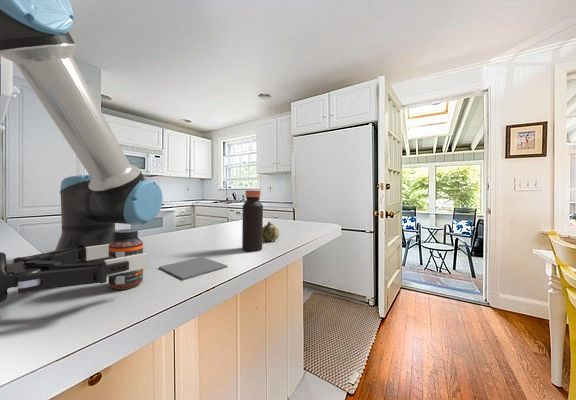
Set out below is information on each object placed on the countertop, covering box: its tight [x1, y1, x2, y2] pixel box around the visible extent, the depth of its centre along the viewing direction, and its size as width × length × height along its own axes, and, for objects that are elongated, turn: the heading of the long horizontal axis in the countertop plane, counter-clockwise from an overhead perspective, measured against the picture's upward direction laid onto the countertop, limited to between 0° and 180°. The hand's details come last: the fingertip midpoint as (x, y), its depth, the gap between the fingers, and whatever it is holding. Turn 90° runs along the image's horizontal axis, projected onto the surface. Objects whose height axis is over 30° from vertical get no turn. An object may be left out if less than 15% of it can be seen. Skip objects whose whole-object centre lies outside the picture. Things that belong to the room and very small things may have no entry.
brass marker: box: [113, 285, 138, 291], centre depth 50 cm, size 4×4×1 cm
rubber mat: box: [158, 256, 228, 281], centre depth 61 cm, size 12×12×1 cm
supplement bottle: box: [108, 228, 144, 290], centre depth 49 cm, size 6×6×11 cm
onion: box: [262, 221, 280, 242], centre depth 95 cm, size 8×8×8 cm
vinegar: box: [241, 190, 264, 252], centre depth 81 cm, size 7×7×20 cm
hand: (133, 253), depth 50 cm, fingers open, 13 cm apart
